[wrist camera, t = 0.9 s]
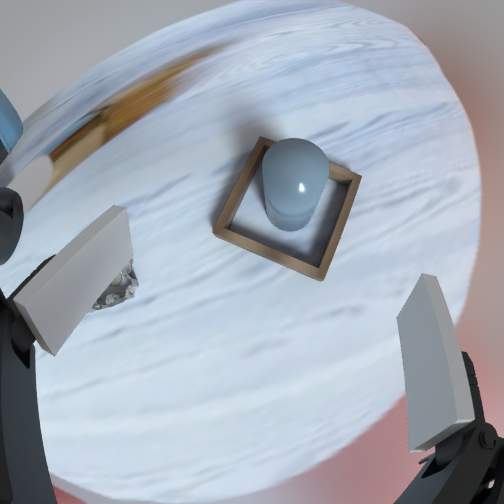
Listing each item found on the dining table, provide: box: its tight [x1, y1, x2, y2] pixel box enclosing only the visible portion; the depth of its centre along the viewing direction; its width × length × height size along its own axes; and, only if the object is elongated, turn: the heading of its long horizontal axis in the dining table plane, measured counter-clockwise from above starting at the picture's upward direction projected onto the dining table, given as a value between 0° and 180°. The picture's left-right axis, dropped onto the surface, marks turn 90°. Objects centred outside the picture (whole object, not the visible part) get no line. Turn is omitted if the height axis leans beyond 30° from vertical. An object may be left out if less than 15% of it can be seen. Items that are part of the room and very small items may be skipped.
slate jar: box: [262, 138, 329, 231], centre depth 31 cm, size 6×6×12 cm
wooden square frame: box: [212, 136, 362, 282], centre depth 35 cm, size 14×14×2 cm
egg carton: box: [87, 259, 139, 313], centre depth 35 cm, size 11×8×4 cm
